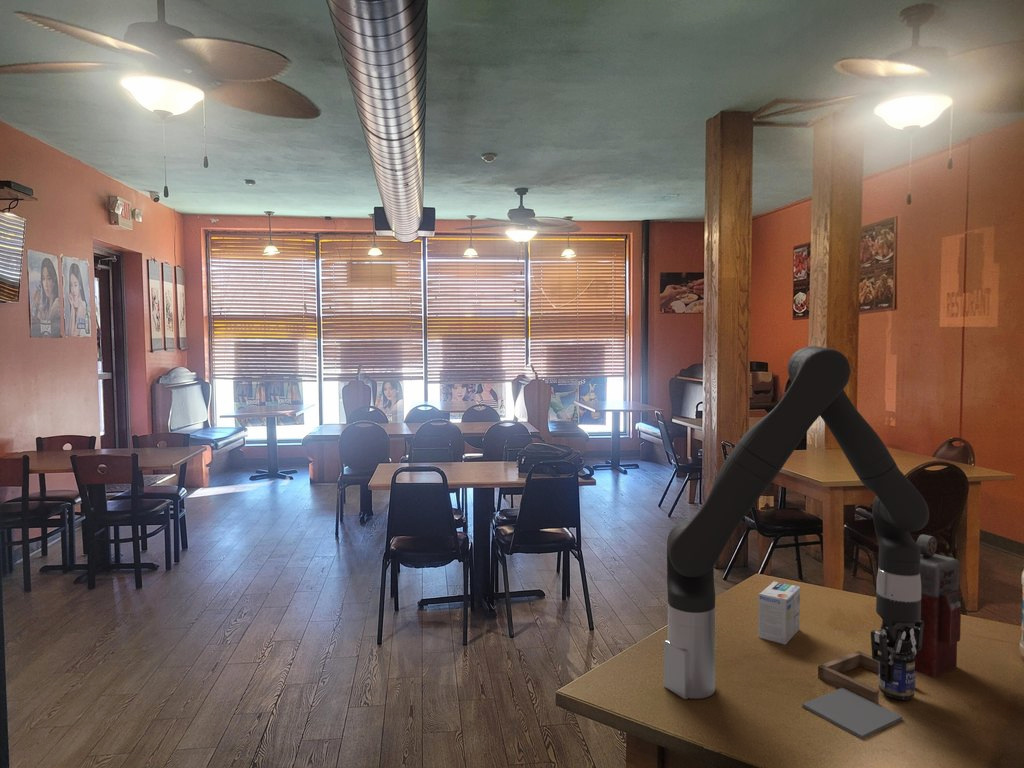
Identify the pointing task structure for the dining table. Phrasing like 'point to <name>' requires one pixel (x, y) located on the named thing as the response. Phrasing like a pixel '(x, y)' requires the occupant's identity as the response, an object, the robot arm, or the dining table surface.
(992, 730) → the dining table surface
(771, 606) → the light bulb box
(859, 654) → the frame
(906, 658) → the pill bottle
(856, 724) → the rubber mat
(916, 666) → the red rectangular canister
